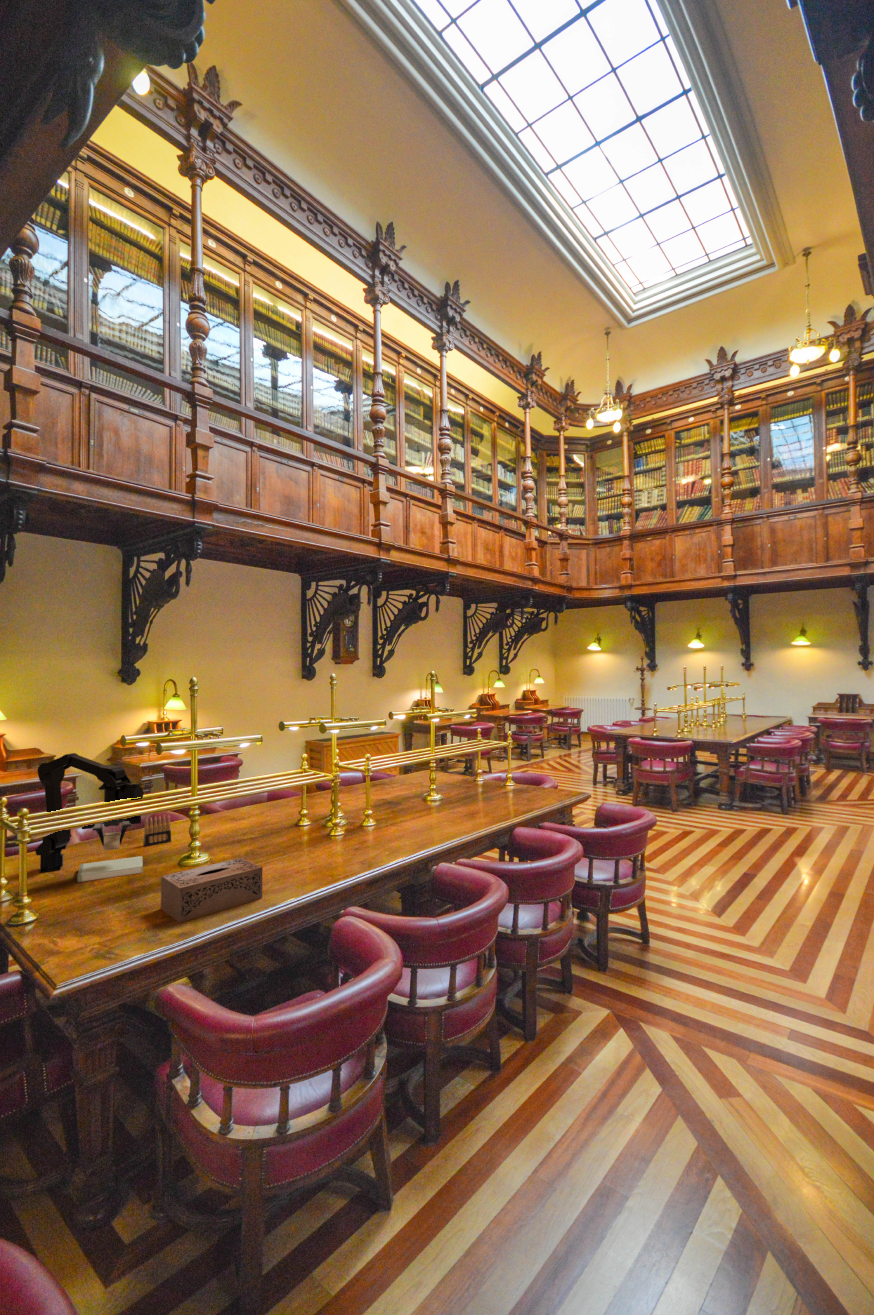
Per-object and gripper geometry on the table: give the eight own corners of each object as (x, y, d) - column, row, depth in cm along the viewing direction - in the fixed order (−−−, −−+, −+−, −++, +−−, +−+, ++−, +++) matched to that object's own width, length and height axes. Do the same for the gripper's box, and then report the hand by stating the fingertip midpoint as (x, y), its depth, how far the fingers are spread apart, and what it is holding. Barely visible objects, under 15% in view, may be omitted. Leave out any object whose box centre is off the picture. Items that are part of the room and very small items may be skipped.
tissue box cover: (241, 887, 191) (241, 857, 191) (262, 899, 181) (262, 867, 181) (160, 909, 172) (161, 876, 173) (179, 923, 162) (179, 888, 163)
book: (77, 882, 196) (77, 875, 196) (80, 871, 208) (80, 863, 208) (142, 873, 205) (142, 866, 206) (142, 862, 218) (142, 855, 218)
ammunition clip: (144, 847, 238) (145, 818, 239) (143, 846, 240) (143, 817, 240) (171, 842, 246) (171, 814, 246) (169, 841, 247) (170, 813, 248)
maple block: (103, 851, 204) (103, 836, 204) (104, 847, 208) (104, 833, 209) (119, 849, 206) (119, 835, 207) (119, 845, 211) (120, 832, 211)
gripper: (81, 808, 197) (79, 854, 196) (141, 803, 205) (140, 847, 205) (83, 802, 206) (82, 846, 206) (141, 797, 215) (140, 839, 214)
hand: (111, 844), depth 207 cm, fingers closed on maple block, 5 cm apart
